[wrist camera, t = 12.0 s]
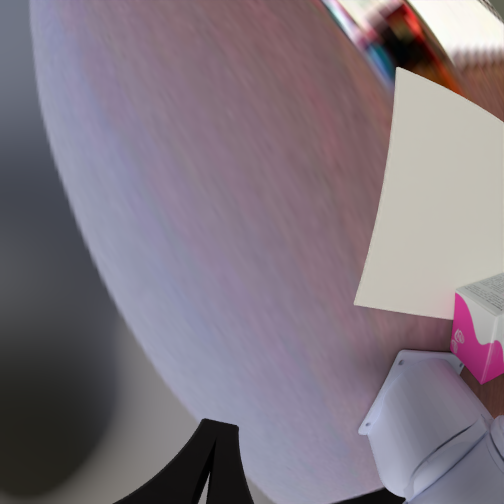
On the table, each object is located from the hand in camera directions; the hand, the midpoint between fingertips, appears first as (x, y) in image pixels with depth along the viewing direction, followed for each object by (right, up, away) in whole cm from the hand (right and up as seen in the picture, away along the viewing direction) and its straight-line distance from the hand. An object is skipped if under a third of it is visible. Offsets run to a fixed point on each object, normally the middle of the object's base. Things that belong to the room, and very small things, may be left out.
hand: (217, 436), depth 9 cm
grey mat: (+19, +10, +7) cm, 22 cm away
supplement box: (+28, +3, +4) cm, 29 cm away
